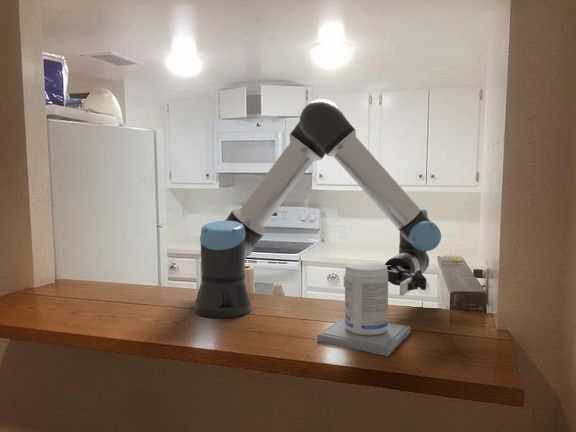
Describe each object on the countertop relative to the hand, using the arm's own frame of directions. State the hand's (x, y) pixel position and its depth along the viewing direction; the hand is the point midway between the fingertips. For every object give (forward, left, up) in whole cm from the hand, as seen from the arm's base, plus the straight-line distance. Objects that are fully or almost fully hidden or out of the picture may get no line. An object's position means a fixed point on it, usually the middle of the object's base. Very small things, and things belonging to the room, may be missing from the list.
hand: (372, 285), depth 103 cm
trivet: (0, -3, -11) cm, 12 cm away
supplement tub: (0, -3, -10) cm, 10 cm away
